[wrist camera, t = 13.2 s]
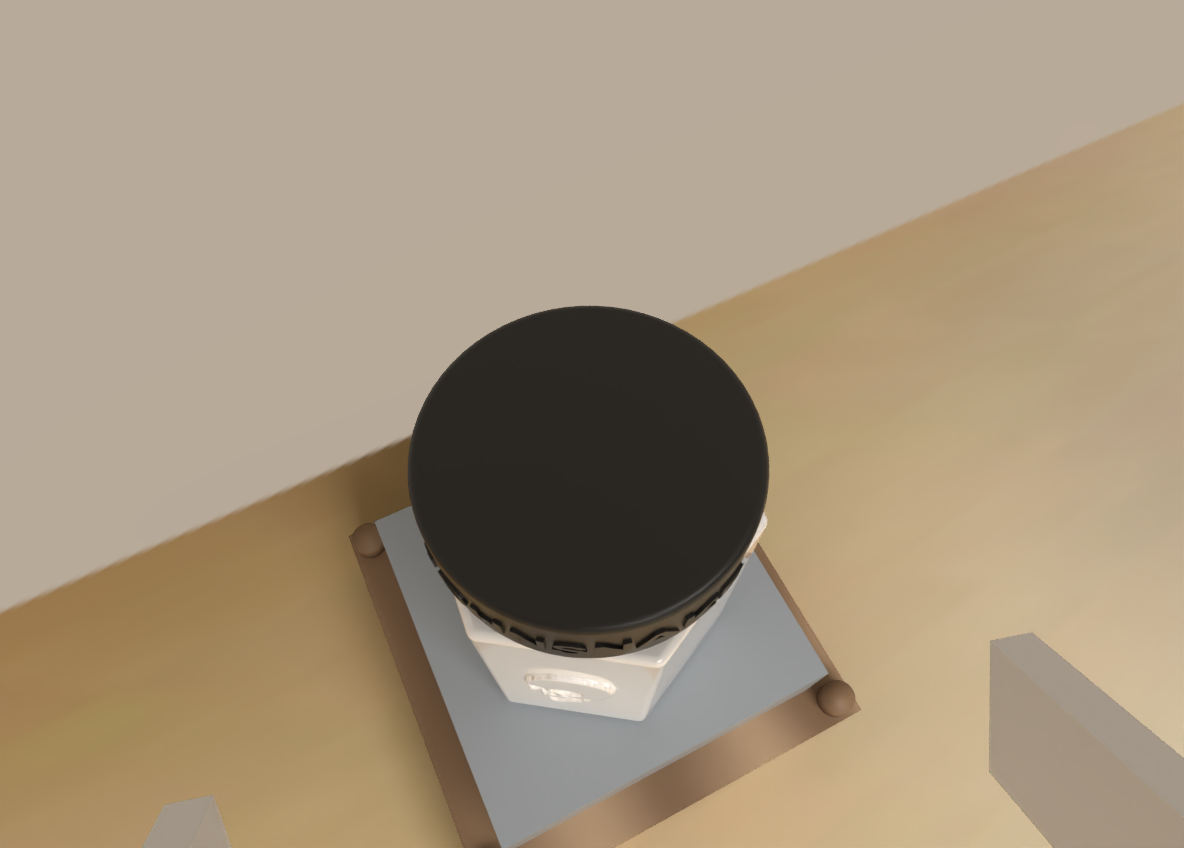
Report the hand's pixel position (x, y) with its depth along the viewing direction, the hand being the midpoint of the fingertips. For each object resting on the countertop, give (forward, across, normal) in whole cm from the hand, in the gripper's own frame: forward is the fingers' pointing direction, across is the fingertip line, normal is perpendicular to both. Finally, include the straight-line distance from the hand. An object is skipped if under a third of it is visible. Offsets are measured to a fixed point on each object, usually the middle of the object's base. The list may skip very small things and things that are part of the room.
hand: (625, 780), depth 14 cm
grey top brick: (+17, 0, -7) cm, 18 cm away
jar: (+14, 0, -5) cm, 15 cm away
